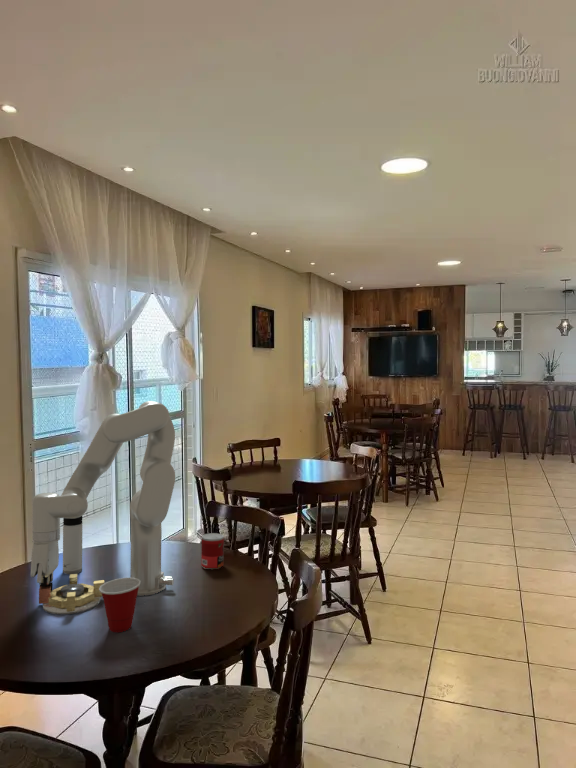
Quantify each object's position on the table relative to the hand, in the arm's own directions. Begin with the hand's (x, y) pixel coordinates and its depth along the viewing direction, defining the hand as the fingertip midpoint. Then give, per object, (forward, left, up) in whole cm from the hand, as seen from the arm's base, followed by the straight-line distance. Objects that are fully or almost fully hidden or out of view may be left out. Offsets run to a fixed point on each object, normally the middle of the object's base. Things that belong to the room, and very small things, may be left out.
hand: (46, 596), depth 161 cm
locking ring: (-8, -1, -1) cm, 8 cm away
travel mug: (+4, -26, -2) cm, 26 cm away
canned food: (-43, -36, -2) cm, 56 cm away
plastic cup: (-28, +13, -2) cm, 31 cm away
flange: (-8, -1, -2) cm, 8 cm away
